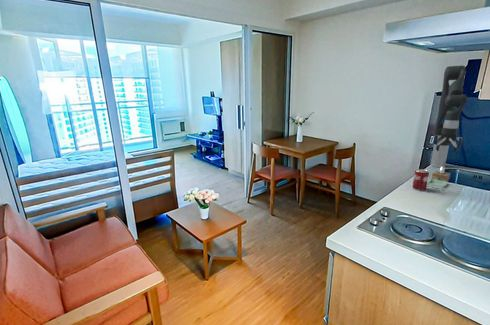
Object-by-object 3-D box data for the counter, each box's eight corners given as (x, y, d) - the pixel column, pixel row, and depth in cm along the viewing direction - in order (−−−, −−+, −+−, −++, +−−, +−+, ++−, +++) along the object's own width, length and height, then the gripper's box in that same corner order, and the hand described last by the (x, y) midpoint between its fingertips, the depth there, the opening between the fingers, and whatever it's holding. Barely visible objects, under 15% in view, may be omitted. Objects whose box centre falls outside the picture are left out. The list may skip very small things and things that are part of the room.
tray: (430, 182, 170) (431, 178, 170) (447, 185, 164) (447, 181, 163) (425, 186, 164) (426, 182, 163) (442, 189, 158) (443, 186, 157)
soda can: (425, 187, 161) (429, 169, 158) (426, 191, 156) (429, 173, 152) (412, 185, 165) (415, 168, 162) (412, 189, 159) (415, 171, 156)
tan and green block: (434, 176, 179) (435, 170, 178) (450, 180, 173) (451, 173, 171) (428, 181, 171) (430, 174, 170) (445, 185, 165) (446, 177, 163)
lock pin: (438, 177, 174) (441, 165, 172) (443, 178, 172) (445, 166, 170) (437, 178, 173) (440, 166, 170) (442, 179, 171) (444, 167, 168)
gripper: (466, 127, 160) (460, 152, 164) (438, 125, 170) (434, 149, 175) (463, 128, 155) (458, 154, 160) (435, 126, 166) (431, 151, 170)
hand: (445, 151), depth 167 cm, fingers open, 8 cm apart
